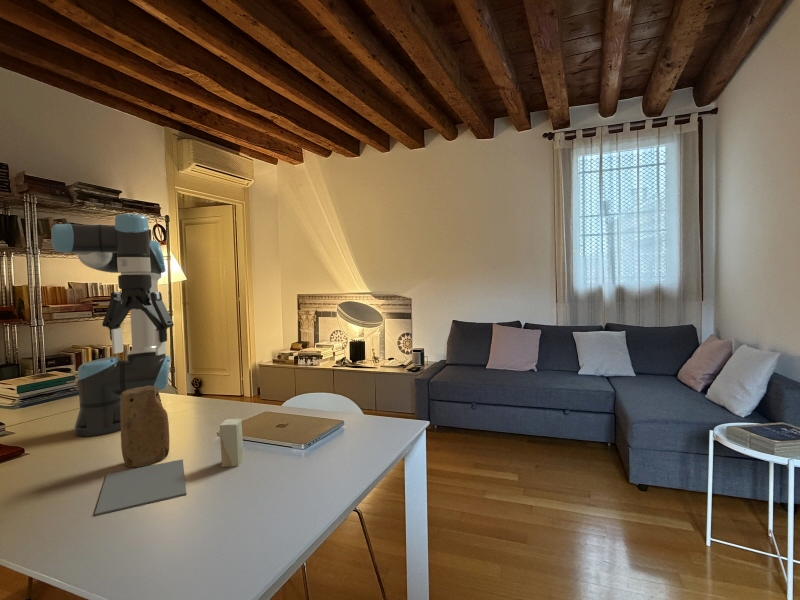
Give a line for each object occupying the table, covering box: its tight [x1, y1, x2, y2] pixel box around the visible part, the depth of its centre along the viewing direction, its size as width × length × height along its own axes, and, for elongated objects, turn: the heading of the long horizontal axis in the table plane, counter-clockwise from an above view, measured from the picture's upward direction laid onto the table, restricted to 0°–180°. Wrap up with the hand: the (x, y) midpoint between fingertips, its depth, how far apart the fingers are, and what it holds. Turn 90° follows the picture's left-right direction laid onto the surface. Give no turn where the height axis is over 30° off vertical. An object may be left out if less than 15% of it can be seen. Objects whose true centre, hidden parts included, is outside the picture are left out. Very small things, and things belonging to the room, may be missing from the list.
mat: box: [94, 459, 188, 517], centre depth 104 cm, size 22×17×1 cm
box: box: [219, 418, 244, 468], centre depth 115 cm, size 5×4×11 cm
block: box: [120, 386, 170, 468], centre depth 118 cm, size 11×8×20 cm
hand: (139, 353), depth 117 cm, fingers open, 13 cm apart
